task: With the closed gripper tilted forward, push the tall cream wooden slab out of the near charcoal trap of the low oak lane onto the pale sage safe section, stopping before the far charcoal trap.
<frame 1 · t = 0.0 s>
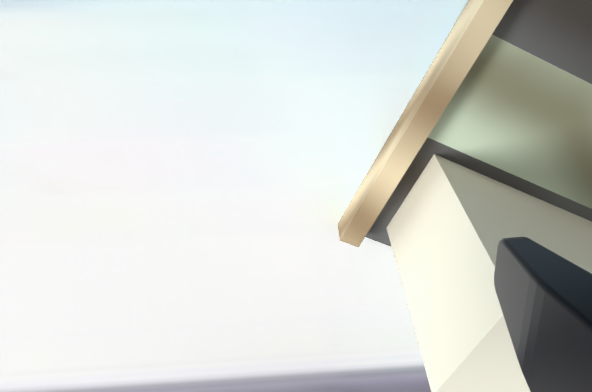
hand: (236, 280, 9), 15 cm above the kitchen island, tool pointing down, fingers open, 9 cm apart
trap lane: (550, 167, 24), on the kitchen island
block: (503, 230, 26), resting on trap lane
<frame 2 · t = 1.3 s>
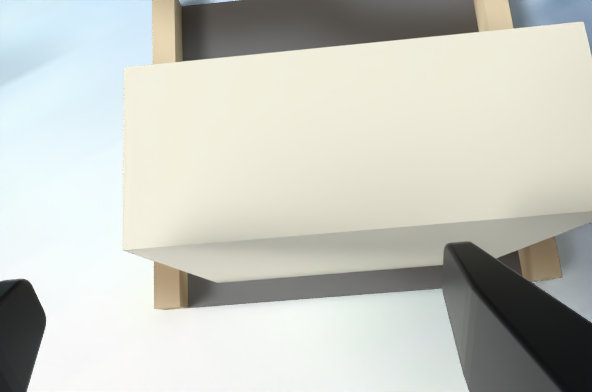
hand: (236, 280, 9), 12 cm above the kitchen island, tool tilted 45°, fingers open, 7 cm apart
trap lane: (337, 133, 23), on the kitchen island
block: (345, 218, 21), resting on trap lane
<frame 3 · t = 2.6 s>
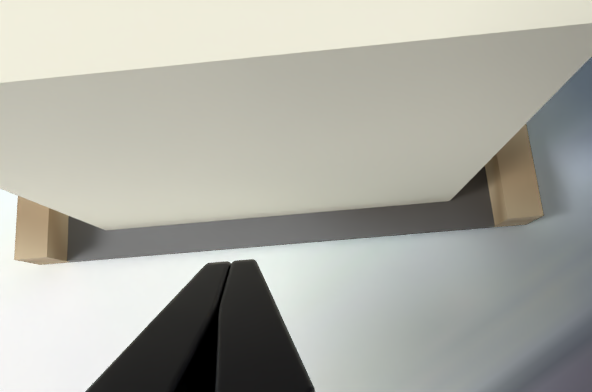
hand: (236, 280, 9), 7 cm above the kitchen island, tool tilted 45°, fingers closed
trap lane: (264, 46, 18), on the kitchen island
block: (270, 148, 17), resting on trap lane
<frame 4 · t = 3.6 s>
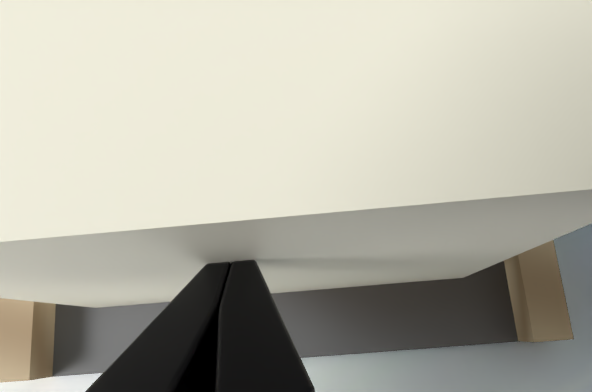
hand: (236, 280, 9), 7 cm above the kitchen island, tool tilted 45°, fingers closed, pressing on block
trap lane: (266, 135, 17), on the kitchen island
block: (271, 219, 16), resting on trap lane, touching gripper
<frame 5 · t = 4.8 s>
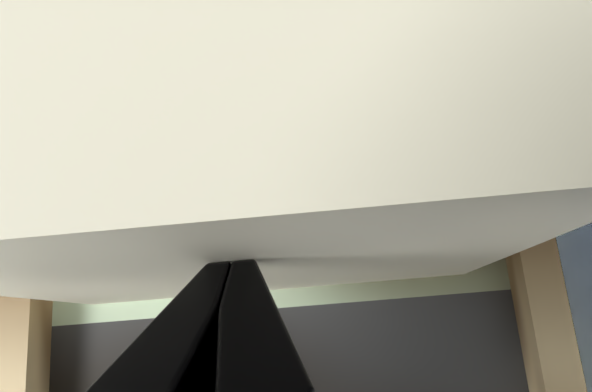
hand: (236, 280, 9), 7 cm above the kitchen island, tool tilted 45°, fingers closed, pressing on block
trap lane: (274, 274, 15), on the kitchen island
block: (270, 215, 16), resting on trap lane, touching gripper
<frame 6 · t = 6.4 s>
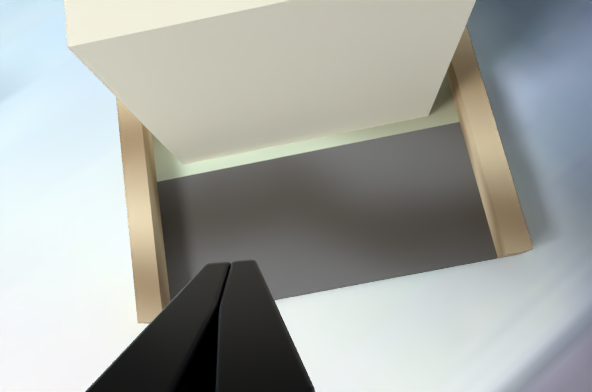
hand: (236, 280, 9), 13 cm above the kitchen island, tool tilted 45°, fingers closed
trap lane: (302, 132, 23), on the kitchen island
block: (295, 94, 23), resting on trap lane
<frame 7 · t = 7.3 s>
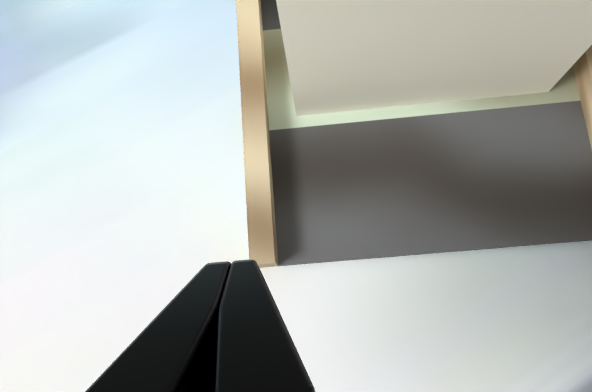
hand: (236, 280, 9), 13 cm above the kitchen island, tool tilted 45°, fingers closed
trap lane: (418, 96, 23), on the kitchen island
block: (414, 58, 23), resting on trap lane
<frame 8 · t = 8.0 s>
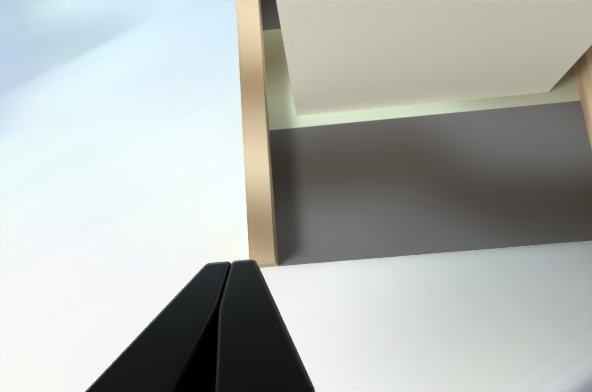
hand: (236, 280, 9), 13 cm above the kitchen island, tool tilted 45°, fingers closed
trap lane: (418, 96, 23), on the kitchen island
block: (414, 58, 23), resting on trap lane
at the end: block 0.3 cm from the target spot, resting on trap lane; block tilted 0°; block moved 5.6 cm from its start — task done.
